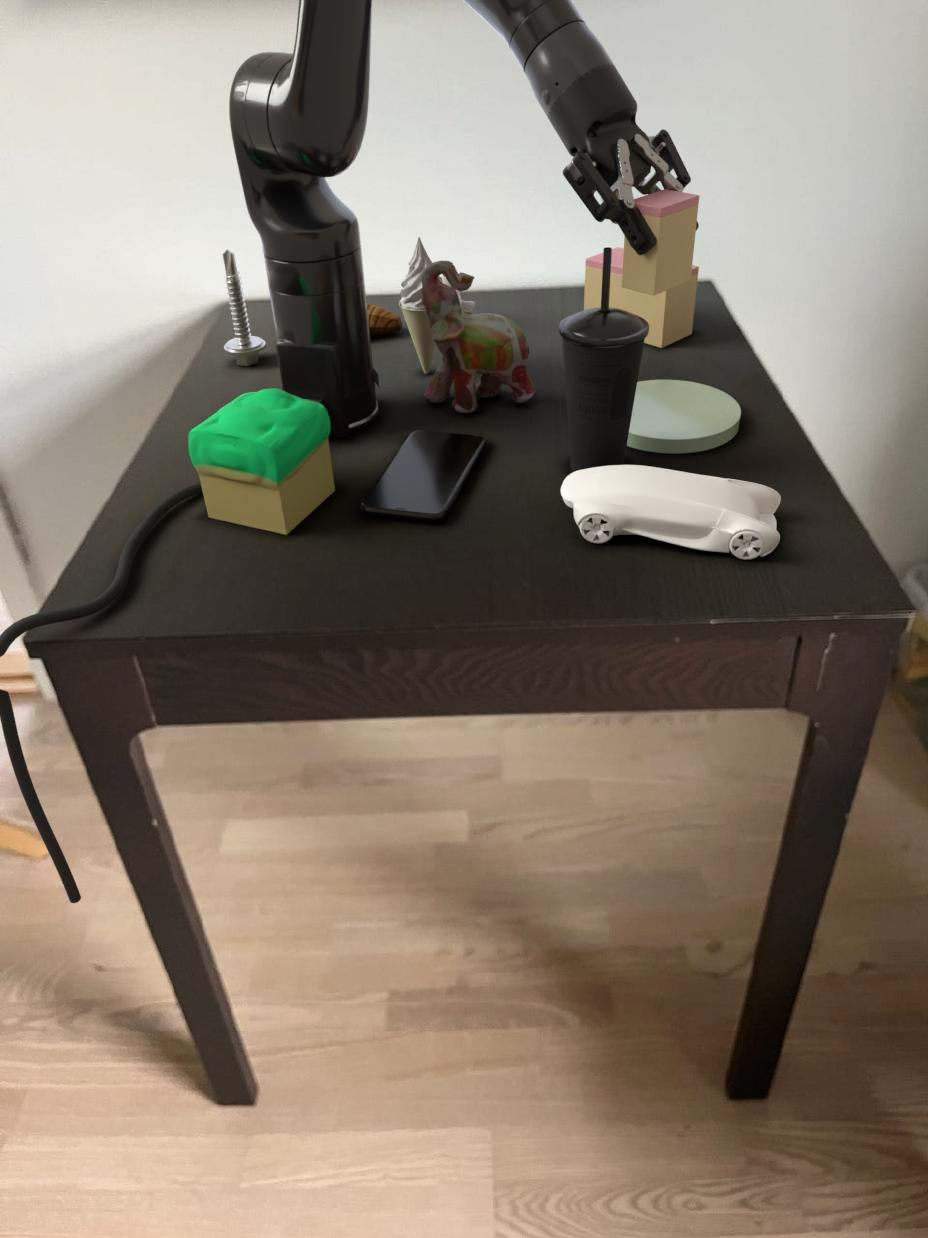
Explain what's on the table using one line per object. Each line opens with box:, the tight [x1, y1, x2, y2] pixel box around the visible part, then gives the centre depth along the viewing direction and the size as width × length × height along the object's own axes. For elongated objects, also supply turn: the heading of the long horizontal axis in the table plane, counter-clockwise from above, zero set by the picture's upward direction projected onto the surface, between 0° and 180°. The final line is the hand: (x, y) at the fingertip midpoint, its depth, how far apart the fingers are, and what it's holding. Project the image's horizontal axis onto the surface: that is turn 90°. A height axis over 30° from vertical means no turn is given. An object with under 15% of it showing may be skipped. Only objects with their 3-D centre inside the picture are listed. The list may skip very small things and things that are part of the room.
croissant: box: [367, 301, 403, 337], centre depth 119 cm, size 14×7×5 cm, turn 85°
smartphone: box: [360, 429, 487, 523], centre depth 90 cm, size 8×1×16 cm
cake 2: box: [583, 246, 700, 349], centre depth 116 cm, size 12×6×8 cm, turn 44°
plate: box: [626, 379, 742, 454], centre depth 98 cm, size 14×14×2 cm
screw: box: [221, 249, 267, 367], centre depth 111 cm, size 13×5×5 cm
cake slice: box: [621, 188, 700, 296], centre depth 94 cm, size 4×6×8 cm, turn 134°
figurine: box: [421, 260, 536, 414], centre depth 98 cm, size 8×12×15 cm, turn 73°
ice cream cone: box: [398, 236, 443, 375], centre depth 106 cm, size 5×5×15 cm
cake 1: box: [187, 387, 336, 536], centre depth 85 cm, size 10×11×10 cm
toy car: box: [560, 464, 782, 561], centre depth 81 cm, size 18×8×4 cm, turn 75°
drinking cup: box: [558, 246, 649, 473], centre depth 85 cm, size 8×8×20 cm
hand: (670, 241), depth 93 cm, fingers closed on cake slice, 6 cm apart
